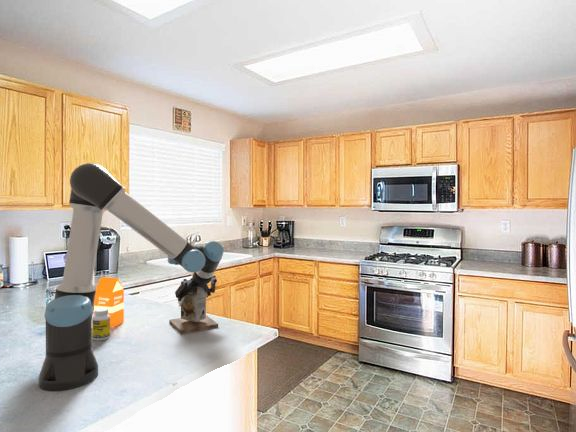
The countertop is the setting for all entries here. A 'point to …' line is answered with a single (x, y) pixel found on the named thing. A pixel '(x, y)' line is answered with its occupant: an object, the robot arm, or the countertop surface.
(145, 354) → the countertop surface
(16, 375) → the countertop surface
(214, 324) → the walnut board
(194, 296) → the coffee box
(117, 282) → the orange juice
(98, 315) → the pill bottle
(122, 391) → the countertop surface
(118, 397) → the countertop surface
